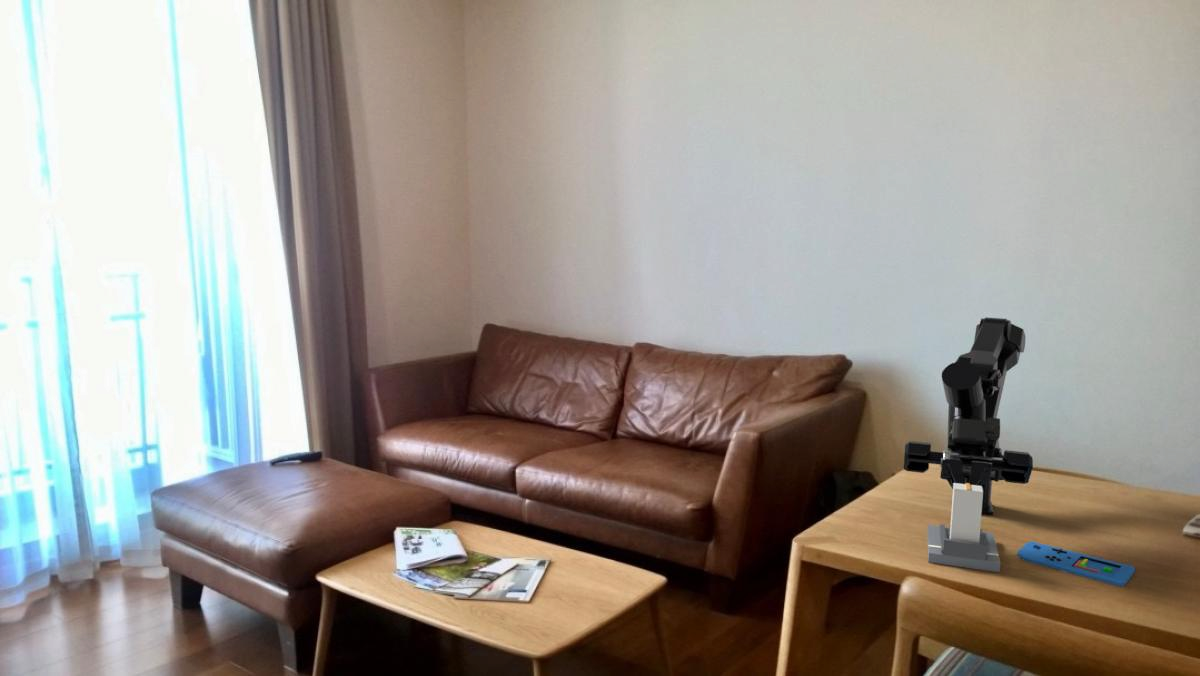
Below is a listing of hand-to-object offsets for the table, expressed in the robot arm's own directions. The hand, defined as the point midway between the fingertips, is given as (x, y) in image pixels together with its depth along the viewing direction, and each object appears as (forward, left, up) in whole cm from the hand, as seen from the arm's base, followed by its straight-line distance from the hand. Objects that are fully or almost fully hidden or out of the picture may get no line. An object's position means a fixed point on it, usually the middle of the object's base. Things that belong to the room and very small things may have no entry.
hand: (965, 509), depth 130 cm
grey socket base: (-2, 0, -8) cm, 8 cm away
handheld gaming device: (-4, +16, -8) cm, 18 cm away
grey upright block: (+2, 0, -6) cm, 6 cm away
